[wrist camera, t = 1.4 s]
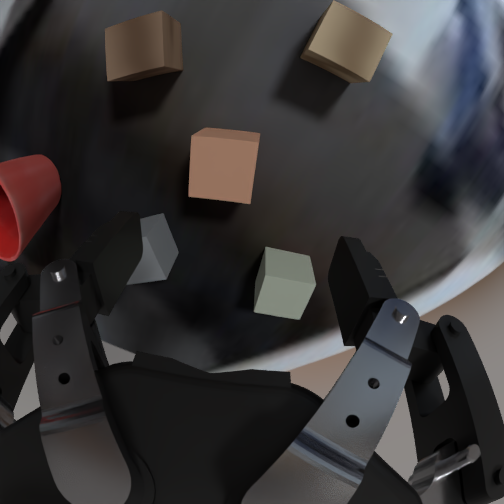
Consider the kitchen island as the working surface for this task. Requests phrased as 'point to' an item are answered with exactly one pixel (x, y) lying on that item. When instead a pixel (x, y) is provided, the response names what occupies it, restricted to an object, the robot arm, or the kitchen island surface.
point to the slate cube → (155, 251)
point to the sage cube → (283, 283)
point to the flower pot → (25, 201)
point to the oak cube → (346, 44)
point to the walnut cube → (143, 47)
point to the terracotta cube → (223, 164)
